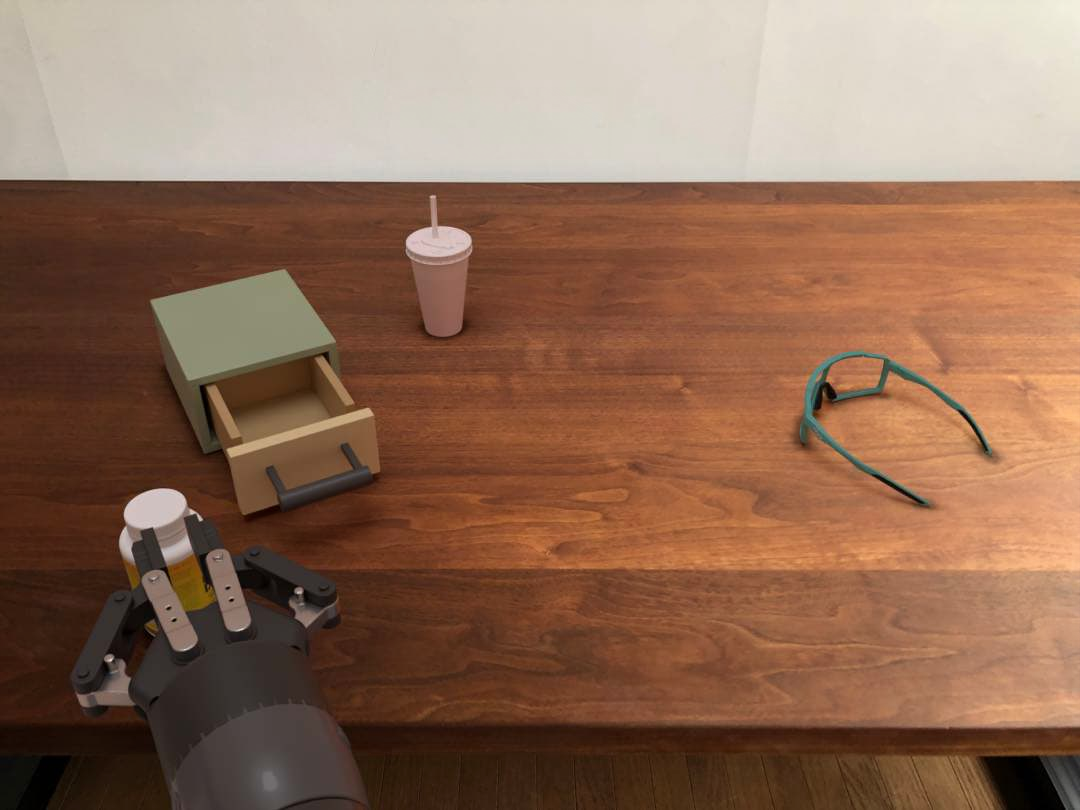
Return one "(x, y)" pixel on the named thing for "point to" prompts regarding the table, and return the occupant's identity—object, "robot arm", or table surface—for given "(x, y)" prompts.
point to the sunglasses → (821, 385)
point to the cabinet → (235, 337)
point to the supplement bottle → (166, 546)
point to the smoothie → (440, 274)
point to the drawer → (291, 434)
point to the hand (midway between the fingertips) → (171, 534)
